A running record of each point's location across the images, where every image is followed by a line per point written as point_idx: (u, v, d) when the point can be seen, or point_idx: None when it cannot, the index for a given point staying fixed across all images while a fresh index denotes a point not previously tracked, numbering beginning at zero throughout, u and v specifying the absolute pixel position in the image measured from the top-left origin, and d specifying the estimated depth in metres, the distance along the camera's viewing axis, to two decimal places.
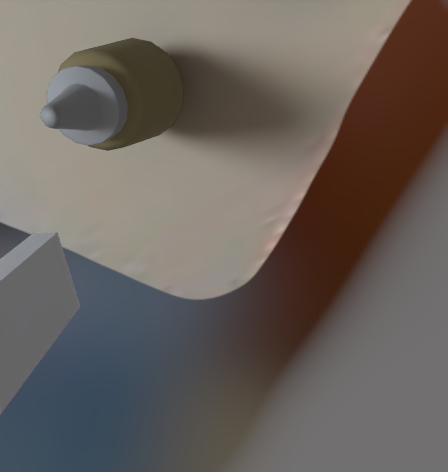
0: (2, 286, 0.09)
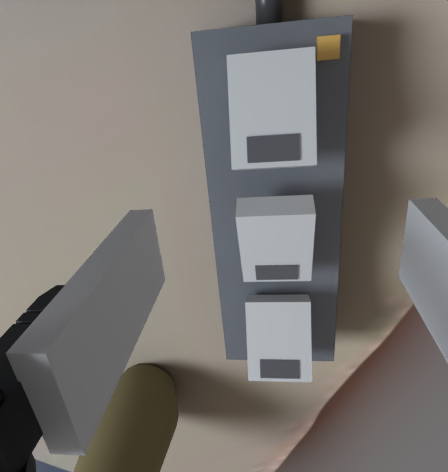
0: (125, 252, 0.10)
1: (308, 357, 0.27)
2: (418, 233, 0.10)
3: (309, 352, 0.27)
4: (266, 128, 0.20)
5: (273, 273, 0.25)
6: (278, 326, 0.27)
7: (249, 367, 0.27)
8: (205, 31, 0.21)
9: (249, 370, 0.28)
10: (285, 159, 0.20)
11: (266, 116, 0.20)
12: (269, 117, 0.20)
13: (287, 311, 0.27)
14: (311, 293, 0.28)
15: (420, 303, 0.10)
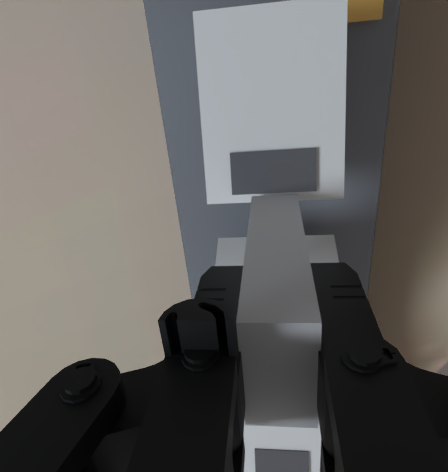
0: None
1: None
2: None
3: None
4: (262, 138, 0.12)
5: None
6: None
7: None
8: None
9: None
10: (293, 189, 0.13)
11: (263, 119, 0.12)
12: (266, 120, 0.12)
13: None
14: None
15: None
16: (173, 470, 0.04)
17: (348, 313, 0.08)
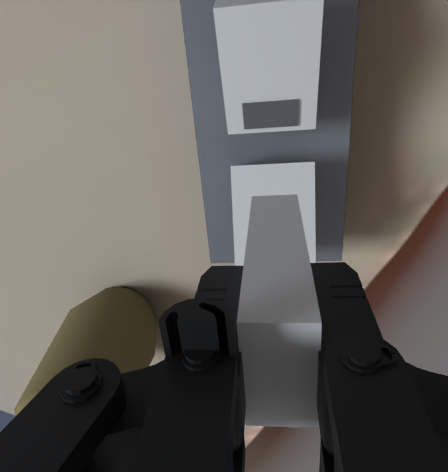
0: None
1: (311, 236, 0.21)
2: None
3: (312, 229, 0.21)
4: None
5: (265, 116, 0.19)
6: None
7: (236, 252, 0.22)
8: None
9: (236, 256, 0.22)
10: None
11: None
12: None
13: (284, 175, 0.21)
14: None
15: None
16: (174, 470, 0.04)
17: (348, 313, 0.08)
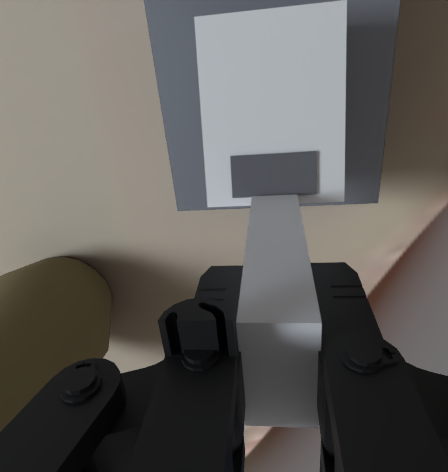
0: None
1: (337, 143, 0.12)
2: None
3: (340, 131, 0.12)
4: None
5: None
6: (269, 73, 0.12)
7: (208, 176, 0.13)
8: None
9: (209, 183, 0.13)
10: None
11: None
12: None
13: (291, 31, 0.11)
14: None
15: None
16: (173, 470, 0.04)
17: (348, 313, 0.08)
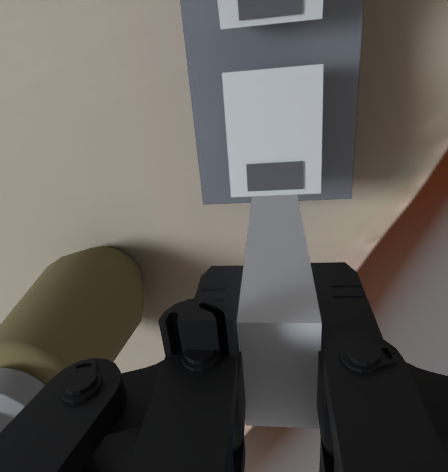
0: None
1: (316, 156, 0.18)
2: None
3: (318, 148, 0.18)
4: None
5: (264, 1, 0.16)
6: (272, 110, 0.18)
7: (231, 177, 0.19)
8: None
9: (232, 182, 0.19)
10: None
11: None
12: None
13: (286, 83, 0.17)
14: None
15: None
16: (174, 470, 0.04)
17: (348, 313, 0.08)
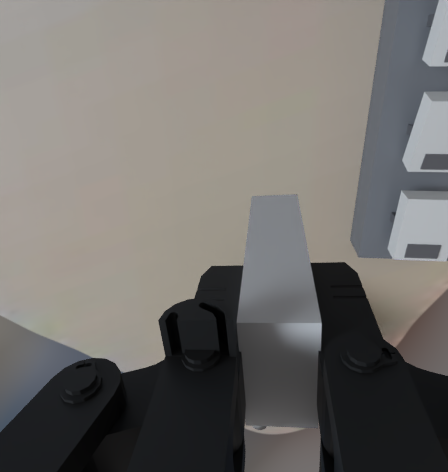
0: None
1: None
2: None
3: None
4: None
5: (437, 162, 0.30)
6: (431, 219, 0.32)
7: (396, 249, 0.33)
8: None
9: (396, 251, 0.34)
10: None
11: None
12: None
13: (443, 207, 0.31)
14: None
15: None
16: (174, 470, 0.04)
17: (348, 313, 0.08)
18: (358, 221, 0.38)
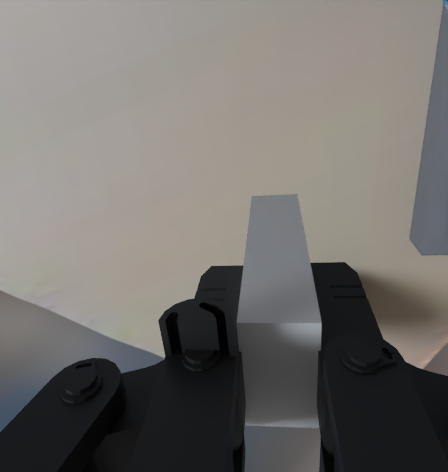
0: None
1: None
2: None
3: None
4: None
5: None
6: None
7: None
8: None
9: None
10: None
11: None
12: None
13: None
14: None
15: None
16: (174, 470, 0.04)
17: (348, 313, 0.08)
18: (419, 221, 0.41)
